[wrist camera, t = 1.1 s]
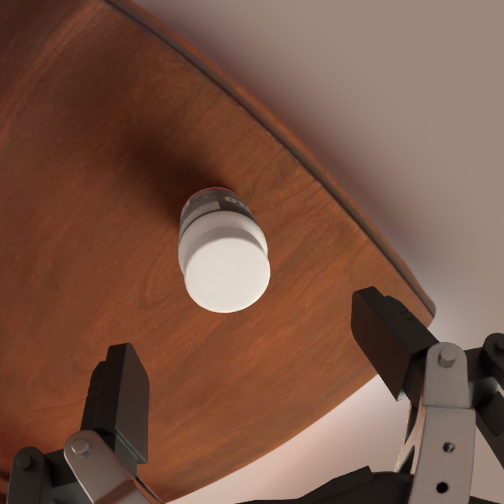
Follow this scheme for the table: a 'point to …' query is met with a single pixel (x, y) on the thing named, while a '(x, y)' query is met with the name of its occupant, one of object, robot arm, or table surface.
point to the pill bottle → (222, 251)
